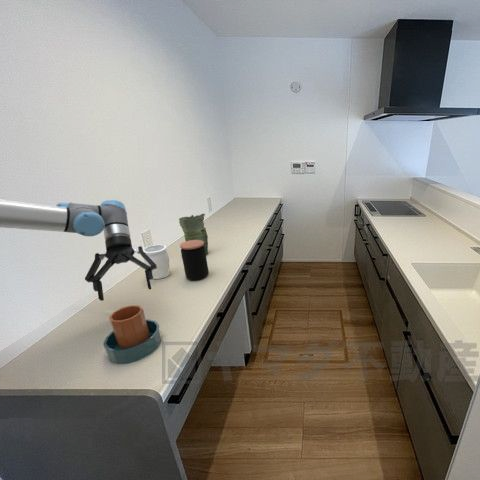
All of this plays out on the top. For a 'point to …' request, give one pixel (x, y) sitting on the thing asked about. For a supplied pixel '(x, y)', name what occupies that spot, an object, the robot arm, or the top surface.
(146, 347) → the teal round bowl
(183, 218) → the pouch
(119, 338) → the terracotta pot
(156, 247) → the jar
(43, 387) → the top surface
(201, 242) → the coffee jar
